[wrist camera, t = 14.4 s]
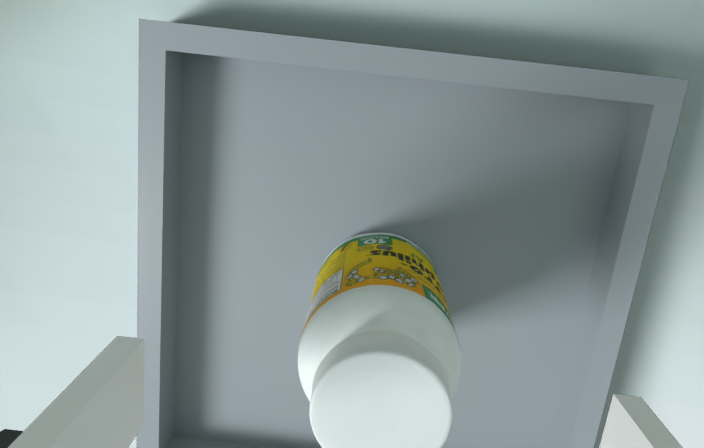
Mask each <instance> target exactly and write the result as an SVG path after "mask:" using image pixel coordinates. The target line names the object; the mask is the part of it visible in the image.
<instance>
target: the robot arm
mask: <svg viewBox="0 0 704 448" xmlns="http://www.w3.org/2000/svg"><path fill="white" fill-rule="evenodd" d="M143 424H144V339H139V338H131V337H122V336H117V337H116V338H115V339H114V340H113V341H112V342H111V343H110V344H109V345H108V346H107V347H106V348H105V349H104V350H103V351H102V352H101V353H100V354H99V355H98V356H97V357H96V358H95V359H94V360H93V361H92V362H91V363H90V364H89V365H88V366H87V367H86V368H85V369H84V370H83V371H82V372H81V373H80V374H79V375H78V376H77V377H76V378H75V379H74V381H73V382H72V383H71V384H70V385H69V386H68V387H67V388H66V389H65V390H64V391H63V392H62V393H61V394H60V395H59V396H58V397H57V398H56V399H55V400H54V401H53V402H52V403H51V404H50V405H49V406H48V407H47V408H46V409H45V410H44V411H43V412H42V413H41V414H40V415H39V416H38V417H37V418H36V419H35V420H34V421H33V422H32V423H31V424H30V425H29V426H28V427H27V428H26V429H25V430H24V431H17V430H8V429H4V430H2V431H1V432H0V448H128V447H129V446H130V444H131V443H132V441H133V440H134V438H135V437H136V435H137V434H138V432H139V431H140V429H141V428H142V426H143ZM599 448H683V447H682V446H681V445H680V444H679V442H678V441H677V440H676V439H675V438H674V436H673V435H672V434H671V433H670V432H669V430H668V429H667V428H666V427H665V426H664V424H663V423H662V422H661V421H660V419H659V418H658V417H657V416H656V415H655V413H654V412H653V411H652V410H651V409H650V407H649V406H648V405H647V404H646V402H645V401H644V400H643V399H642V398H641V397H637V396H628V395H620V394H613V397H612V401H611V405H610V409H609V412H608V416H607V420H606V424H605V427H604V431H603V435H602V439H601V443H600V446H599Z"/></svg>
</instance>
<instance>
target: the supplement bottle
mask: <svg viewBox="0 0 704 448" xmlns="http://www.w3.org/2000/svg"><path fill="white" fill-rule="evenodd" d="M298 372H299V378H300V381H301V384H302V387H303V390H304V392H305V394H306V396H307V398H308V400H309V401H310V409H309V415H310V423H311V427H312V430H313V433H314V435H315V437H316V439H317V441H318V443H319V444H320V446H321V447H322V448H441V447H442V446H443V444H444V442H445V441H446V439H447V437H448V434H449V431H450V428H451V423H452V416H453V408H452V401H451V399H452V398H453V396H454V394H455V391H456V389H457V386H458V383H459V379H460V374H461V350H460V344H459V341H458V337H457V334H456V331H455V328H454V325H453V322H452V319H451V316H450V313H449V310H448V306H447V303H446V299H445V296H444V294H443V291H442V288H441V284H440V281H439V278H438V275H437V272H436V270H435V267H434V265H433V263H432V261H431V260H430V258H429V257H428V255H427V254H426V253H425V252H424V251H423V250H422V249H421V248H420V247H419V246H417V245H416V244H415V243H413V242H412V241H410V240H408V239H406V238H404V237H402V236H399V235H396V234H392V233H365V234H360V235H356V236H353V237H350V238H348V239H346V240H345V241H343V242H342V243H340V244H339V245H338V246H336V247H335V248H334V249H333V250H332V251H331V252H330V253H329V255H328V256H327V257H326V259H325V260H324V262H323V264H322V266H321V268H320V271H319V274H318V277H317V280H316V283H315V287H314V290H313V295H312V299H311V302H310V306H309V310H308V313H307V317H306V321H305V325H304V328H303V331H302V335H301V340H300V344H299V349H298Z"/></svg>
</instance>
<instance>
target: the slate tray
mask: <svg viewBox="0 0 704 448" xmlns="http://www.w3.org/2000/svg"><path fill="white" fill-rule="evenodd" d="M688 83H689V80H688V79H679V78H670V77H661V76H652V75H643V74H633V73H624V72H615V71H606V70H597V69H588V68H579V67H570V66H561V65H552V64H543V63H534V62H525V61H516V60H507V59H498V58H489V57H480V56H471V55H462V54H453V53H444V52H435V51H426V50H417V49H408V48H399V47H390V46H381V45H372V44H363V43H353V42H344V41H335V40H326V39H317V38H308V37H299V36H290V35H281V34H272V33H263V32H254V31H245V30H236V29H227V28H218V27H209V26H200V25H191V24H182V23H173V22H164V21H155V20H146V19H139V117H138V297H137V338H139V339H144V424H143V426H142V428H141V429H140V431H139V432H138V434H137V448H322V447H321V446H320V444H319V443H318V441H317V439H316V437H315V435H314V433H313V430H312V427H311V423H310V415H309V409H310V401H309V400H308V398H307V396H306V394H305V392H304V390H303V387H302V384H301V381H300V378H299V372H298V349H299V344H300V340H301V335H302V331H303V328H304V325H305V321H306V317H307V313H308V310H309V306H310V302H311V299H312V295H313V290H314V287H315V283H316V280H317V277H318V274H319V271H320V268H321V266H322V264H323V262H324V260H325V259H326V257H327V256H328V255H329V253H330V252H331V251H332V250H333V249H334V248H335V247H336V246H338V245H339V244H340V243H342V242H343V241H345V240H346V239H348V238H350V237H353V236H356V235H360V234H365V233H392V234H396V235H399V236H402V237H404V238H406V239H408V240H410V241H412V242H413V243H415V244H416V245H417V246H419V247H420V248H421V249H422V250H423V251H424V252H425V253H426V254H427V255H428V257H429V258H430V260H431V261H432V263H433V265H434V267H435V270H436V272H437V275H438V278H439V281H440V284H441V288H442V291H443V294H444V296H445V299H446V303H447V306H448V310H449V313H450V316H451V319H452V322H453V325H454V328H455V331H456V334H457V337H458V341H459V344H460V350H461V374H460V379H459V383H458V386H457V389H456V391H455V394H454V396H453V398H452V399H451V401H452V408H453V416H452V423H451V428H450V431H449V434H448V437H447V439H446V441H445V442H444V444H443V446H442V447H441V448H594V444H595V441H596V437H597V433H598V429H599V425H600V421H601V418H602V414H603V410H604V406H605V402H606V398H607V395H608V391H609V387H610V383H611V379H612V375H613V371H614V368H615V364H616V360H617V356H618V352H619V348H620V345H621V341H622V337H623V333H624V329H625V325H626V321H627V318H628V314H629V310H630V306H631V302H632V298H633V295H634V291H635V287H636V283H637V279H638V275H639V272H640V268H641V264H642V260H643V256H644V252H645V248H646V245H647V241H648V237H649V233H650V229H651V225H652V222H653V218H654V214H655V210H656V206H657V202H658V199H659V195H660V191H661V187H662V183H663V179H664V175H665V172H666V168H667V164H668V160H669V156H670V152H671V149H672V145H673V141H674V137H675V133H676V129H677V126H678V122H679V118H680V114H681V110H682V106H683V102H684V99H685V95H686V91H687V87H688Z"/></svg>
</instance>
